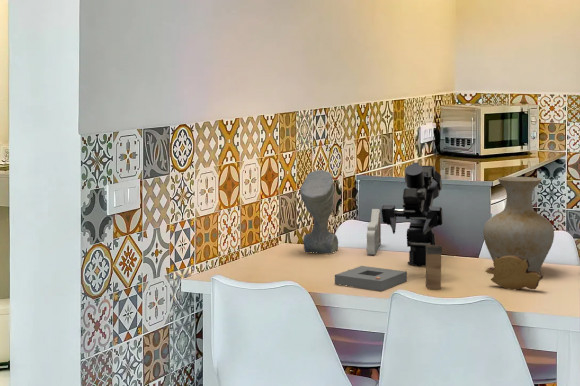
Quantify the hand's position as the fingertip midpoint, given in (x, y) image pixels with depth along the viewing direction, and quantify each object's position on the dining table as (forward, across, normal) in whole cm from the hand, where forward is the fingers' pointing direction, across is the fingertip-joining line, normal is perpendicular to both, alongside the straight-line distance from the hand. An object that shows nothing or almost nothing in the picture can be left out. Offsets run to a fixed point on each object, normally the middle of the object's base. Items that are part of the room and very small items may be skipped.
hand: (408, 233), depth 257 cm
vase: (-10, +32, +25) cm, 41 cm away
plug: (+14, +9, +8) cm, 19 cm away
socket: (+13, -10, +9) cm, 19 cm away
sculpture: (-23, -38, +33) cm, 56 cm away
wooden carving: (+10, +32, +11) cm, 35 cm away
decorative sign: (-31, -20, +39) cm, 54 cm away
